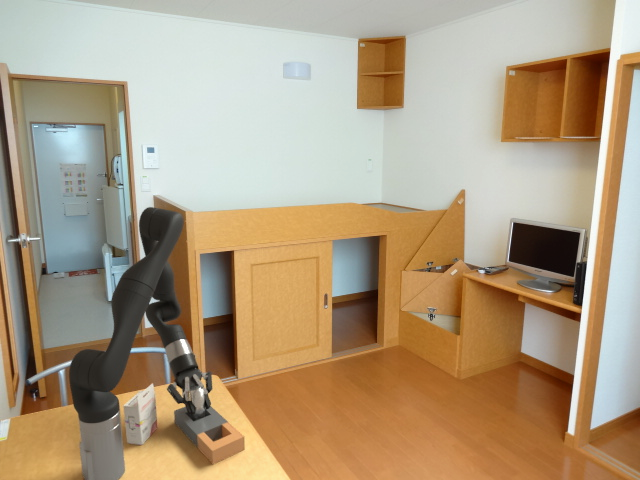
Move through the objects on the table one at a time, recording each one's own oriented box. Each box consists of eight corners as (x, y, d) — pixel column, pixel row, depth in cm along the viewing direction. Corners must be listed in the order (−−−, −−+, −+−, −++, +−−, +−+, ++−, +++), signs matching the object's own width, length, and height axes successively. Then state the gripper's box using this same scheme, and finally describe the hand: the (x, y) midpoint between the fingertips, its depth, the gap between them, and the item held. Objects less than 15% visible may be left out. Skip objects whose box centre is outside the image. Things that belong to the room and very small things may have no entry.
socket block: (213, 464, 124) (212, 450, 123) (174, 422, 141) (174, 410, 141) (244, 449, 130) (244, 436, 129) (204, 411, 147) (203, 399, 147)
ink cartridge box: (142, 425, 140) (139, 380, 137) (158, 427, 139) (155, 382, 136) (125, 443, 132) (121, 395, 129) (141, 446, 131) (138, 397, 128)
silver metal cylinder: (195, 431, 137) (193, 394, 135) (189, 425, 140) (187, 388, 138) (208, 426, 140) (206, 389, 137) (201, 420, 143) (200, 384, 140)
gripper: (161, 359, 137) (181, 416, 130) (206, 346, 146) (227, 398, 139) (155, 369, 142) (174, 424, 135) (199, 356, 151) (218, 406, 144)
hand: (200, 410), depth 137 cm, fingers open, 4 cm apart
